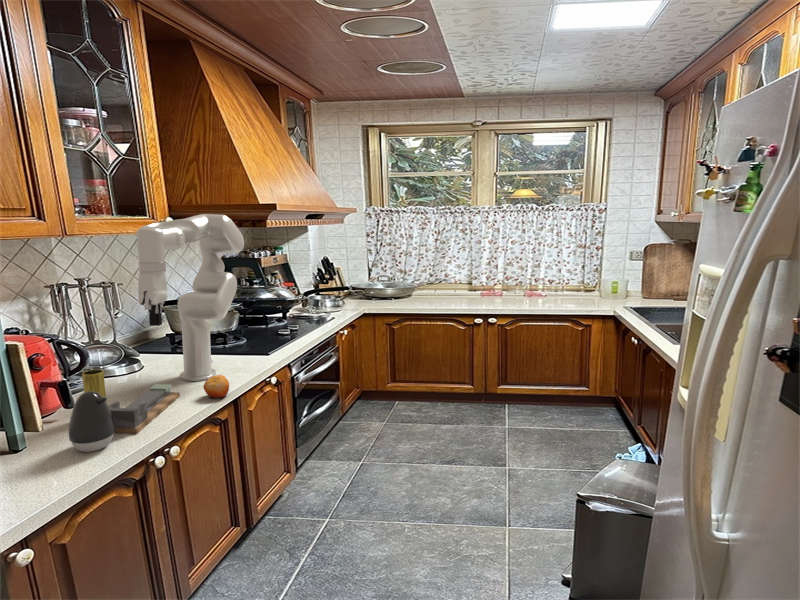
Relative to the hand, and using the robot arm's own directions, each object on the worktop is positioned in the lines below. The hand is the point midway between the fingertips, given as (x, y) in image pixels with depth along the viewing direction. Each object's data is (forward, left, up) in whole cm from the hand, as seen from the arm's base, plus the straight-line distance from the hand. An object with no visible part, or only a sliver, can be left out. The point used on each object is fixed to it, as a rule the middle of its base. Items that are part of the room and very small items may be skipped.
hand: (156, 325), depth 155 cm
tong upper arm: (+9, 0, -22) cm, 24 cm away
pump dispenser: (+33, -2, -25) cm, 42 cm away
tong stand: (+11, 0, -25) cm, 27 cm away
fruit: (-4, +17, -25) cm, 31 cm away
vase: (+15, -12, -25) cm, 32 cm away
